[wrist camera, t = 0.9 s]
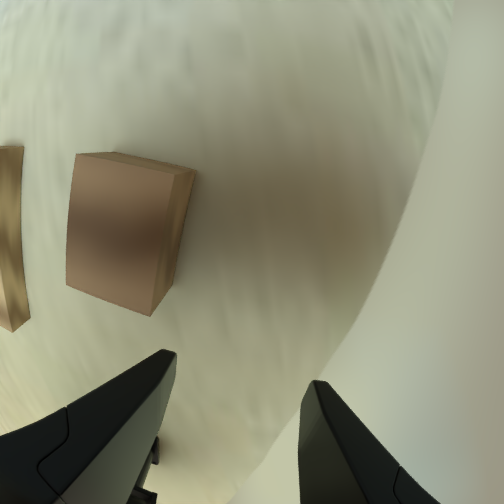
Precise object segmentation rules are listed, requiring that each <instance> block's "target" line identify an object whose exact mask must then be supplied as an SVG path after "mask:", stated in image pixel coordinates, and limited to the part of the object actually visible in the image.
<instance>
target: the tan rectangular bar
mask: <svg viewBox="0 0 504 504" xmlns="http://www.w3.org/2000/svg"><path fill="white" fill-rule="evenodd" d="M23 151H24V147H15V146H0V326H2V327H3V328H5V329H7V330H9V331H10V332H12V333H13V332H14V331H16V330H17V329H18V328H19V327H20V326H21V325H23V324H24V323H25V322H26V321H27V320H28V319H30V313H29V307H28V301H27V294H26V287H25V279H24V270H23V260H22V247H21V223H20V197H21V174H22V161H23Z"/></svg>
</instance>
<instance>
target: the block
mask: <svg viewBox="0 0 504 504" xmlns="http://www.w3.org/2000/svg"><path fill="white" fill-rule="evenodd" d="M195 173H196V170H194V169H189V168H185V167H181V166H177V165H172V164H168V163H164V162H159V161H155V160H150V159H145V158H141V157H136V156H131V155H126V154H121V153H116V152H99V153H81V154H76V158H75V164H74V170H73V177H72V184H71V193H70V202H69V212H68V225H67V243H66V285H68V286H70V287H72V288H75V289H77V290H80V291H82V292H84V293H87V294H89V295H92V296H95V297H97V298H100V299H102V300H105V301H107V302H110V303H113V304H115V305H118V306H121V307H124V308H126V309H129V310H132V311H135V312H138V313H141V314H143V315H146V316H149V317H150V316H151V315H152V313H153V312H154V310H155V309H156V307H157V306H158V305H159V303H160V302H161V300H162V299H163V297H164V296H165V295H166V293H167V292H168V290H169V289H170V288H171V286H172V282H173V276H174V271H175V265H176V260H177V255H178V250H179V245H180V240H181V235H182V230H183V225H184V221H185V216H186V212H187V207H188V203H189V198H190V194H191V190H192V186H193V181H194V177H195Z"/></svg>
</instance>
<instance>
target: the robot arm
mask: <svg viewBox="0 0 504 504" xmlns="http://www.w3.org/2000/svg"><path fill="white" fill-rule="evenodd" d="M176 364H177V354H176V353H175V352H173V351H169V350H166V349H161V350H159V351H158V352H156V353H154V354H153V355H151V356H149V357H148V358H146V359H145V360H143V361H141V362H140V363H138V364H136V365H135V366H133V367H131V368H130V369H128V370H126V371H125V372H123V373H121V374H120V375H118V376H116V377H115V378H113V379H111V380H110V381H108V382H106V383H105V384H103V385H101V386H100V387H98V388H96V389H94V390H93V391H91V392H89V393H88V394H86V395H84V396H82V397H81V398H79V399H77V400H76V401H74V402H72V403H70V404H69V405H67V408H66V407H63V408H61V409H59V410H58V411H56V412H54V413H52V414H50V415H48V416H46V417H45V418H43V419H41V420H39V421H37V422H34V423H32V424H30V425H27V426H25V427H23V428H20V429H18V430H15V431H12V432H10V433H7V434H4V435H1V436H0V504H156V500H157V493H154V492H150V491H148V490H145V489H143V485H144V482H145V479H146V477H147V474H148V471H149V468H150V465H151V463H152V464H155V465H158V463H159V445H158V438H157V437H156V436H157V434H158V431H159V429H160V426H161V423H162V420H163V417H164V414H165V410H166V407H167V404H168V400H169V397H170V394H171V391H172V387H173V384H174V380H175V375H176ZM298 467H299V486H300V504H440V503H439V502H438V501H437V500H436V499H434V498H433V497H432V496H431V495H430V494H428V492H427V491H425V490H424V489H423V488H422V487H421V486H420V485H419V484H418V483H417V482H416V481H415V480H414V479H413V478H412V477H411V476H410V475H409V474H408V473H407V471H406V470H405V469H404V468H403V467H402V466H400V464H399V463H398V462H397V461H396V460H395V458H394V457H393V456H392V455H391V454H390V453H389V452H388V451H387V450H386V449H385V448H384V446H383V445H382V444H381V443H380V442H379V441H378V440H377V439H376V437H375V436H374V435H373V434H372V433H371V432H370V431H369V429H368V428H367V427H366V426H365V425H364V424H363V423H362V421H361V420H360V419H359V418H358V417H357V416H356V415H355V413H354V412H353V411H352V410H351V409H350V408H349V407H348V405H347V404H346V403H345V402H344V401H343V400H342V398H341V397H340V396H339V395H338V394H337V393H336V391H335V390H334V389H333V388H332V387H331V386H330V385H329V383H328V382H326V381H320V380H313V381H311V383H310V384H309V386H308V389H307V391H306V393H305V395H304V397H303V399H302V402H301V409H300V427H299V442H298Z"/></svg>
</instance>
